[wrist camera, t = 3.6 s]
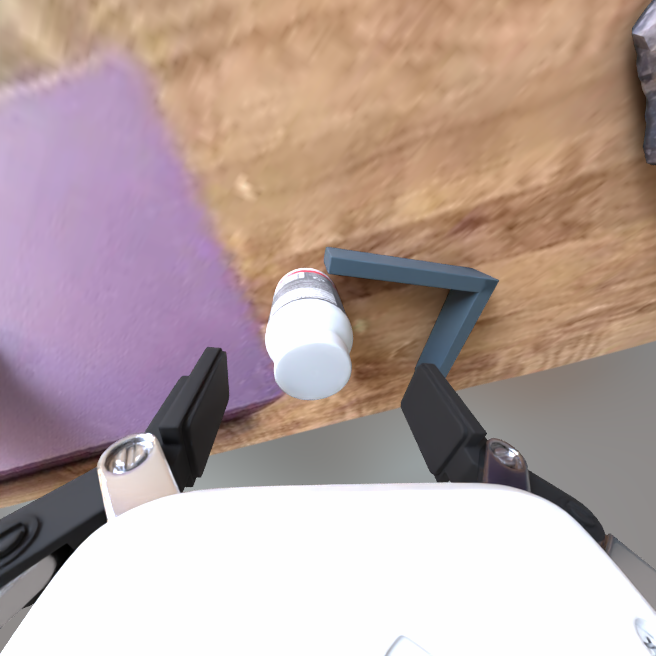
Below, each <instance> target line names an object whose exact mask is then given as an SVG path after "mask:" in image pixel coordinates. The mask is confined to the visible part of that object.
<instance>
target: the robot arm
mask: <svg viewBox="0 0 656 656" xmlns="http://www.w3.org/2000/svg"><path fill="white" fill-rule="evenodd" d="M228 400H229V385H228V370H227V356H226V352H224V351H222V349H221V348H214V347H207V348H206V349H205V351H204V352H203V354H202V356H201V357H200V359H199V361H198V362H197V364H196V366H195V367H194V369H193V370H192V372H191V374H190V375H189V376H182V377H181V378H180V379H179V380H178V382H177V383H176V385H175V386H174V388H173V389H172V391H171V392H170V394H169V396H168V397H167V399H166V400H165V402H164V403H163V405H162V406H161V408H160V409H159V411H158V412H157V414H156V415H155V417H154V419H153V420H152V422H151V423H150V425H149V426H148V428H147V429H146V431H145V432H144V433H135V434H132V435H129V436H126V437H124V438H122V439H120V440H118V441H116V442H115V443H114V444H112V445H111V446H110V447H109V448H107V449H106V451H105V452H104V453H103V454H102V455H101V457H100V459H99V461H98V465H97V467H96V468H94V469H92V470H91V471H89V472H87V473H85V474H83V475H81V476H79V477H78V478H76V479H74V480H72V481H70V482H68V483H67V484H65V485H63V486H61V487H59V488H57V489H55V490H54V491H52V492H50V493H48V494H46V495H44V496H43V497H41V498H39V499H37V500H35V501H33V502H31V503H30V504H28V505H26V506H24V507H22V508H20V509H19V510H17V511H15V512H13V513H11V514H9V515H7V516H6V517H4V518H2V519H0V629H1V628H2V627H3V626H4V625H5V624H6V623H7V622H8V621H9V620H10V619H11V618H12V617H13V616H14V615H15V614H16V613H17V612H19V611H20V610H21V609H23V608H25V607H28V606H30V605H32V604H34V603H35V602H36V603H35V604H34V606H33V607H32V608H31V610H30V611H29V613H28V614H27V616H26V617H25V619H24V620H23V621H22V623H21V624H20V626H19V627H18V629H17V630H16V632H15V633H14V635H13V636H12V638H11V639H10V640H9V642H8V644H7V645H6V646H5V648H4V650H3V651H2V652H1V654H0V656H656V570H655V569H654V568H653V567H651V566H650V565H649V564H648V563H646V562H645V561H644V560H642V559H641V558H640V557H639V556H638V555H636V554H635V553H634V552H633V551H632V550H630V549H629V548H628V547H627V546H625V545H624V544H623V543H622V542H620V541H619V540H618V539H617V538H615V537H614V536H613V535H611V534H608V535H606V534H605V532H604V530H603V527H602V525H601V524H600V522H599V521H598V519H597V518H596V517H595V516H594V515H593V513H592V512H591V511H590V510H589V509H588V508H586V507H585V506H584V505H583V504H582V503H580V502H579V501H577V500H576V499H575V498H573V497H571V496H570V495H568V494H567V493H565V492H563V491H562V490H560V489H558V488H557V487H555V486H553V485H552V484H550V483H548V482H547V481H545V480H544V479H542V478H540V477H539V476H537V475H535V474H534V473H532V472H531V471H529V470H528V466H527V463H526V461H525V459H524V458H523V456H522V455H521V454H520V453H519V452H518V450H516V449H515V448H514V447H513V446H511V445H510V444H508V443H507V442H505V441H502V440H500V439H496V438H491V439H489V440H487V439H486V438H485V436H486V434H487V433H486V431H485V430H484V429H483V427H482V426H481V425H480V423H479V422H478V421H477V419H476V418H475V417H474V415H473V414H472V413H471V412H470V410H469V409H468V408H467V406H466V405H465V404H464V402H463V401H462V400H461V398H460V397H459V396H458V394H457V393H456V392H455V390H454V389H453V388H452V386H451V385H450V384H449V382H448V381H447V380H446V378H445V377H444V376H443V375H442V373H441V372H440V371H439V369H438V368H437V367H436V365H435V364H431V363H421V364H420V365H419V366H417V368H416V370H415V372H414V375H413V377H412V379H411V381H410V383H409V385H408V388H407V390H406V392H405V394H404V396H403V399H402V401H401V408H402V411H403V413H404V415H405V418H406V420H407V422H408V424H409V426H410V429H411V431H412V433H413V435H414V437H415V440H416V442H417V444H418V446H419V448H420V451H421V453H422V455H423V457H424V460H425V462H426V464H427V466H428V469H429V471H430V472H431V473H432V474H434V476H435V478H436V481H437V482H448V481H449V480H450V482H451V483H390V484H339V485H295V486H259V487H235V488H216V489H205V490H195V491H189V492H183V490H184V488H185V487H193V485H194V482H195V480H196V477H201V476H202V474H203V471H204V469H205V466H206V463H207V460H208V457H209V454H210V452H211V449H212V446H213V443H214V440H215V437H216V435H217V432H218V429H219V426H220V423H221V420H222V418H223V415H224V412H225V409H226V406H227V403H228Z"/></svg>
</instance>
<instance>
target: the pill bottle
mask: <svg viewBox="0 0 656 656" xmlns="http://www.w3.org/2000/svg"><path fill="white" fill-rule="evenodd" d="M352 344H353V332H352V328H351V324H350V321H349V319H348V317H347V315H346V312H345V310H344V307H343V305H342V302H341V300H340V297H339V295H338V292H337V290H336V287H335V285H334V283H333V282H332V281H331V279H330V278H329V277H328V276H327V275H325V274H324V273H322V272H320V271H318V270H315V269H311V268H301V269H296V270H294V271H291V272H290V273H288V274H286V275H285V276H284V277H283V278H282V279H281V280H280V282H279V283H278V285H277V287H276V290H275V293H274V298H273V303H272V308H271V312H270V316H269V320H268V325H267V330H266V347H267V351H268V353H269V355H270V357H271V359H272V360H273V362H274V376H275V380H276V382H277V384H278V386H279V387H280V388H281V389H282V390H283V391H284V392H285V393H287V394H288V395H290V396H292V397H294V398H298V399H302V400H319V399H323V398H327V397H329V396H331V395H334V394H336V393H337V392H339V391H340V390H341V389H342V388H343V387H344V386H345V385H346V383H347V382H348V380H349V378H350V375H351V371H352V363H351V359H350V355H349V353H350V351H351V348H352Z"/></svg>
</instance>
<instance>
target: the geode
mask: <svg viewBox="0 0 656 656" xmlns="http://www.w3.org/2000/svg"><path fill="white" fill-rule="evenodd" d="M632 36H633V41H634V46H635V50H636V53H637V60H636V65H637V72H638V77H639V79H640V81H641V85H642V90H643V92H644V94H645V96H646V111H645V120H646V130H645V137H644V143H643V149H644V153H645V158H646V163H648V164H651V165H656V0H653V1H652V2H651V3H650V4H649V5H648V7H647V8H646V9H645V10H644V12H643V13H642V15H641V16H640V18H639V19H638V21H637V22H636V23H635V25H634V26H633V28H632Z"/></svg>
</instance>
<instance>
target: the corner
mask: <svg viewBox="0 0 656 656" xmlns="http://www.w3.org/2000/svg"><path fill="white" fill-rule="evenodd" d="M324 263H325V266H326V269H327V271H328V273H329V274H334V275H342V276H350V277H358V278H366V279H374V280H382V281H390V282H398V283H405V284H413V285H421V286H429V287H437V288H445V289H450V292H449V294H448V296H447V298H446V301H445V303H444V305H443V307H442V309H441V312H440V314H439V316H438V318H437V321H436V323H435V325H434V327H433V329H432V332H431V334H430V336H429V338H428V341H427V343H426V345H425V347H424V349H423V352H422V354H421V356H420V358H419V361H418V363H417V365H416V367H415V370H416V368H417V366H419V365H420V364H421V363H431V364H435V365H436V367H437V368H438V369H439V371H440V372H441V373H442V375H443V376H444V377H445V378H446V376H447V374H448V373H449V371H450V369H451V367H452V365H453V364H454V362H455V360H456V358H457V356H458V354H459V353H460V351H461V349H462V347H463V345H464V344H465V342H466V340H467V338H468V336H469V334H470V333H471V331H472V329H473V327H474V325H475V324H476V322H477V320H478V318H479V316H480V314H481V313H482V311H483V309H484V307H485V305H486V303H487V302H488V300H489V298H490V296H491V294H492V293H493V291H494V289H495V287H496V285H497V283H498V282H499V280H498V279H495V278H493V277H491V276H489V275H486V274H484V273H482V272H480V271H477V270H475V269H473V268H467V267H460V266H453V265H446V264H440V263H433V262H426V261H419V260H413V259H406V258H399V257H392V256H385V255H379V254H372V253H365V252H358V251H352V250H345V249H338V248H331V247H326V250H325V256H324Z"/></svg>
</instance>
